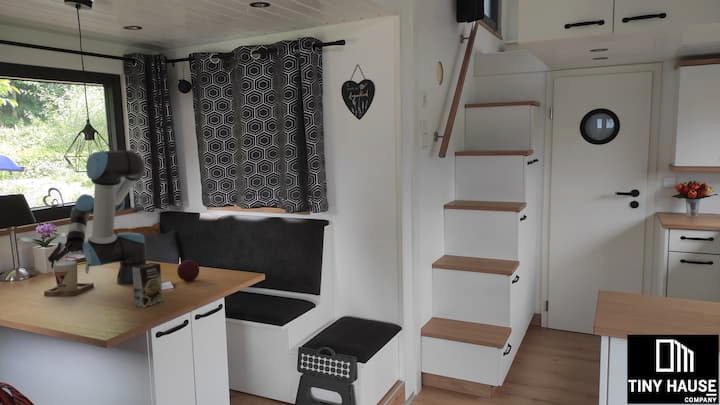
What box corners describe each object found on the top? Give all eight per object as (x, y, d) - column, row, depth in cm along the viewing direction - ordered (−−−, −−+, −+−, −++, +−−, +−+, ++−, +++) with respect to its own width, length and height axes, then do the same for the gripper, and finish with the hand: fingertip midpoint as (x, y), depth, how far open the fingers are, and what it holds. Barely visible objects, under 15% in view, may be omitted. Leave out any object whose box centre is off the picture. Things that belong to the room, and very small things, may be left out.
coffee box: (144, 308, 214) (141, 268, 212) (134, 305, 217) (131, 266, 215) (163, 301, 221) (160, 263, 219) (153, 299, 225) (150, 262, 223)
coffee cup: (51, 291, 237) (48, 264, 236) (69, 285, 246) (67, 260, 244) (66, 293, 234) (63, 266, 232) (84, 287, 242) (82, 261, 241)
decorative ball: (198, 282, 249) (197, 261, 248) (176, 284, 248) (174, 263, 247) (201, 277, 259) (200, 257, 258) (179, 278, 258) (178, 258, 257)
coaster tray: (93, 287, 246) (93, 283, 246) (73, 296, 232) (73, 291, 232) (65, 287, 248) (65, 282, 248) (44, 295, 234) (44, 291, 234)
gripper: (106, 237, 262) (101, 275, 249) (49, 240, 256) (42, 279, 243) (103, 228, 256) (98, 266, 243) (45, 231, 250) (37, 270, 238)
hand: (70, 273), depth 243 cm, fingers open, 13 cm apart
